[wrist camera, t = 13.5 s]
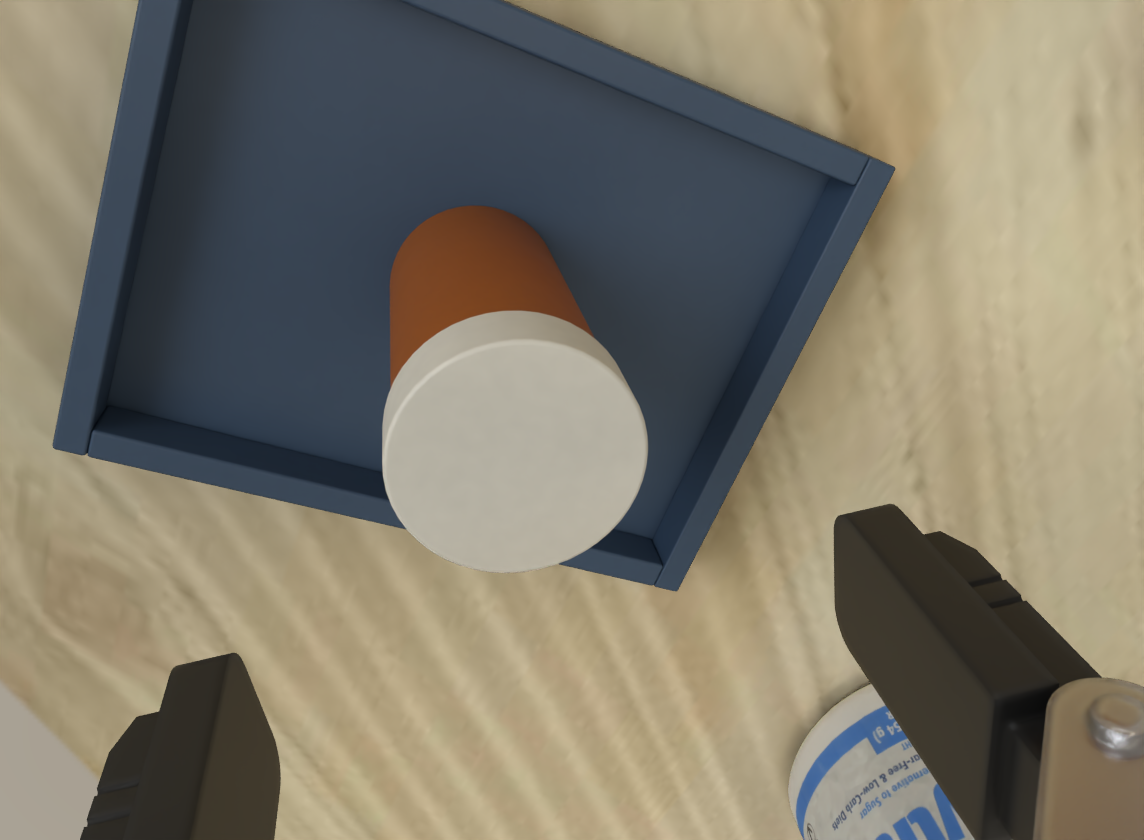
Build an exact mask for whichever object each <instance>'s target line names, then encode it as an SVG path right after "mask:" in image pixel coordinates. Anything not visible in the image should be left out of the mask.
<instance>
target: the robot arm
mask: <svg viewBox="0 0 1144 840" xmlns="http://www.w3.org/2000/svg"><path fill="white" fill-rule="evenodd" d="M834 586H835V611H836V616H837V621H838V625H839V628H840V631H841V634H842V637H843V639H844V641H845V643H846V645H847V647H848V649H849V651H850V652H851V654H852V655H853V657H854V658H855V660H856V661H857V663H858V664H859V666H860V667H861V669H862V670H863V672H864V673H865V675H866V676H867V678H868V679H869V681H870V682H871V684H872V685H873V687H874V689H875V690H876V692H877V693H878V695H879V696H880V698H881V699H882V701H883V702H884V704H885V705H886V707H887V708H888V710H889V711H890V713H891V714H892V716H893V717H894V719H895V720H896V722H897V723H898V725H899V726H900V728H901V729H902V731H903V732H904V734H905V735H906V737H907V738H908V740H909V741H910V743H911V744H912V746H913V747H914V749H915V750H916V752H917V753H918V755H919V756H920V758H921V759H922V761H923V762H924V764H925V765H926V767H927V768H928V770H929V771H930V773H931V774H932V776H933V777H934V779H935V780H936V782H937V783H938V785H939V786H940V788H941V789H942V791H943V792H944V794H945V795H946V797H947V799H948V800H949V802H950V803H951V805H952V806H953V808H954V809H955V811H956V812H957V814H958V815H959V817H960V818H961V820H962V821H963V823H964V824H965V826H966V827H967V829H968V830H969V832H970V833H971V835H972V836H973V838H974V839H975V840H1144V687H1142V686H1140V685H1137V684H1134V683H1131V682H1127V681H1123V680H1118V679H1111V678H1102V677H1101V676H1100V675H1099V674H1098V673H1097V672H1096V671H1095V670H1094V669H1093V668H1092V667H1091V666H1090V665H1089V664H1088V663H1087V662H1086V661H1085V660H1084V659H1083V658H1082V657H1081V656H1080V655H1079V654H1078V653H1077V652H1076V651H1075V650H1074V649H1073V648H1072V647H1071V646H1070V645H1069V644H1068V643H1067V642H1066V641H1065V640H1064V639H1063V638H1062V636H1061V635H1060V634H1059V633H1058V632H1057V631H1056V630H1055V629H1054V628H1053V627H1052V626H1051V625H1050V624H1049V623H1048V622H1047V621H1046V620H1045V619H1044V618H1043V617H1042V616H1041V615H1040V614H1039V613H1038V612H1037V611H1036V610H1035V609H1034V608H1033V607H1032V606H1031V605H1030V604H1029V603H1028V602H1027V601H1023V600H1022V598H1021V595H1020V594H1019V593H1018V592H1017V591H1016V590H1015V589H1014V588H1013V587H1012V586H1011V585H1010V584H1009V583H1008V582H1007V581H1006V580H1002V578H1001V574H1000V573H999V572H998V571H997V570H996V569H995V568H994V567H993V566H992V565H991V564H990V563H989V562H988V561H987V560H986V559H985V558H984V557H983V556H982V555H981V554H980V553H979V552H978V551H977V550H976V549H974V548H972V547H970V546H968V545H966V544H964V543H962V542H960V541H958V540H957V539H955V538H953V537H951V536H949V535H947V534H945V533H943V532H941V531H938V532H934V533H929V534H925V535H923V534H922V533H921V531H920V530H919V529H918V528H917V527H916V526H915V525H914V524H913V523H912V522H911V521H910V519H909V518H908V517H907V516H906V515H905V514H904V513H903V512H902V511H901V510H900V509H899V508H898V507H897V506H895V505H893V504H887V505H883V506H878V507H874V508H870V509H865V510H861V511H857V512H852V513H848V514H843V515H839V516H838V517H837V518H836V520H835V524H834ZM280 779H281V777H280V763H279V756H278V751H277V746H276V742H275V739H274V736H273V733H272V731H271V729H270V726H269V724H268V721H267V719H266V716H265V714H264V711H263V709H262V706H261V704H260V702H259V699H258V697H257V694H256V692H255V689H254V687H253V684H252V682H251V679H250V677H249V674H248V672H247V670H246V667H245V665H244V663H243V661H242V659H241V657H240V656H239V655H238V654H237V653H230V654H226V655H221V656H217V657H213V658H208V659H204V660H200V661H195V662H191V663H187V664H182V665H178V666H175V667H174V668H173V669H172V671H171V673H170V676H169V680H168V683H167V687H166V690H165V694H164V697H163V701H162V704H161V708H160V711H159V712H155V713H151V714H147V715H142V716H138V717H136V718H135V720H134V721H133V722H132V724H131V725H130V726H129V727H128V729H127V730H126V731H125V733H124V734H123V735H122V736H121V738H120V739H119V740H118V742H117V743H116V744H115V746H114V747H113V748H112V749H111V751H110V752H109V754H108V757H107V760H106V763H105V766H104V769H103V772H102V775H101V778H100V781H99V784H98V787H97V791H98V796H95V797H94V799H93V802H92V805H91V808H90V811H89V814H88V818H87V822H88V826H87V827H84V830H83V832H82V835H81V838H80V840H274V836H275V828H276V819H277V811H278V802H279V793H280Z"/></svg>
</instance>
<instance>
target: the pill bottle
mask: <svg viewBox="0 0 1144 840" xmlns="http://www.w3.org/2000/svg"><path fill="white" fill-rule="evenodd" d="M390 381H391V389H390V392H389V394H388V397H387V401H386V405H385V409H384V416H383V426H382V467H383V479H384V484H385V489H386V492H387V495H388V498H389V501H390V503H391V506H392V508H393V509H394V511H395V513H396V515H397V517H398V518H399V520H400V521H401V522H402V524H403V525H404V526H405V528H406V529H407V530H408V531H409V532H410V533H411V534H412V535H413V536H414V537H415V538H416V539H417V540H418V541H419V542H420V543H421V544H422V545H424V546H425V547H426V548H428V549H429V550H430V551H432V552H433V553H435V554H437V555H438V556H440V557H442V558H444V559H446V560H448V561H450V562H453V563H455V564H458V565H460V566H464V567H467V568H471V569H474V570H480V571H486V572H495V573H517V572H527V571H533V570H539V569H543V568H546V567H550V566H554V565H557V564H559V563H562V562H564V561H567V560H569V559H571V558H573V557H575V556H577V555H579V554H581V553H583V552H585V551H586V550H588V549H589V548H590V547H592V546H593V545H595V544H596V543H598V542H599V541H600V540H601V539H603V538H604V537H605V536H606V535H607V534H608V533H610V532H611V530H612V529H613V528H614V527H615V526H616V525H617V524H618V523H619V522H620V521H621V519H622V518H623V517H624V515H625V514H626V513H627V511H628V510H629V508H630V507H631V505H632V503H633V501H634V499H635V498H636V496H637V494H638V491H639V489H640V486H641V484H642V481H643V477H644V473H645V469H646V465H647V456H648V436H647V430H646V425H645V420H644V417H643V414H642V412H641V409H640V406H639V404H638V402H637V401H636V399H635V397H634V395H633V393H632V391H631V389H630V387H629V386H628V384H627V382H626V380H625V378H624V376H623V374H622V373H621V371H620V369H619V367H618V365H617V363H616V362H615V360H614V359H613V358H612V356H611V355H610V354H609V352H608V351H607V350H606V349H605V348H604V347H603V346H602V345H601V344H600V343H599V342H598V341H597V340H596V339H595V338H594V336H593V334H592V332H591V330H590V328H589V326H588V324H587V322H586V320H585V318H584V317H583V315H582V313H581V311H580V309H579V307H578V305H577V303H576V301H575V299H574V297H573V295H572V293H571V291H570V289H569V288H568V286H567V284H566V282H565V280H564V278H563V276H562V274H561V272H560V270H559V268H558V266H557V264H556V262H555V261H554V259H553V257H552V255H551V253H550V251H549V249H548V247H547V245H546V244H545V242H544V241H543V239H542V238H541V237H540V235H539V234H538V233H537V232H536V231H535V230H534V229H533V228H532V227H531V226H530V225H528V224H527V223H526V222H525V221H523V220H522V219H520V218H518V217H517V216H515V215H513V214H511V213H508V212H506V211H504V210H500V209H497V208H493V207H487V206H462V207H456V208H452V209H448V210H445V211H443V212H440V213H438V214H436V215H434V216H432V217H430V218H429V219H427V220H426V221H424V222H423V223H422V224H420V225H419V226H418V227H417V228H416V229H415V230H414V231H413V232H412V233H411V234H410V235H409V236H408V237H407V238H406V240H405V241H404V242H403V244H402V246H401V247H400V249H399V251H398V253H397V255H396V258H395V260H394V263H393V267H392V271H391V277H390Z"/></svg>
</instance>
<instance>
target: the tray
mask: <svg viewBox="0 0 1144 840" xmlns="http://www.w3.org/2000/svg"><path fill="white" fill-rule="evenodd" d="M894 171H895V167H893V166H891V165H889V164H887V163H885V162H882V161H880V160H878V159H876V158H874V157H871V156H869V155H867V154H865V153H863V152H860V151H858V150H856V149H853V148H851V147H849V146H846V145H844V144H842V143H839V142H837V141H834V140H832V139H830V138H827V137H825V136H823V135H820V134H818V133H816V132H813V131H811V130H808V129H806V128H804V127H801V126H799V125H797V124H794V123H792V122H790V121H787V120H785V119H783V118H780V117H778V116H775V115H773V114H771V113H768V112H766V111H764V110H761V109H759V108H757V107H754V106H752V105H749V104H747V103H745V102H742V101H740V100H738V99H735V98H733V97H731V96H728V95H726V94H724V93H721V92H719V91H716V90H714V89H712V88H709V87H707V86H705V85H702V84H700V83H698V82H695V81H693V80H690V79H688V78H686V77H683V76H681V75H679V74H676V73H674V72H672V71H669V70H667V69H665V68H662V67H660V66H657V65H655V64H653V63H650V62H648V61H646V60H643V59H641V58H639V57H636V56H634V55H631V54H629V53H627V52H624V51H622V50H620V49H617V48H615V47H613V46H610V45H608V44H606V43H603V42H601V41H598V40H596V39H594V38H591V37H589V36H587V35H584V34H582V33H580V32H577V31H575V30H572V29H570V28H568V27H565V26H563V25H561V24H558V23H556V22H554V21H551V20H549V19H547V18H544V17H542V16H539V15H537V14H535V13H532V12H530V11H528V10H525V9H523V8H521V7H518V6H516V5H514V4H511V3H509V2H506V1H504V0H139V2H138V7H137V12H136V17H135V22H134V28H133V33H132V38H131V43H130V48H129V53H128V58H127V64H126V69H125V74H124V79H123V84H122V89H121V95H120V100H119V105H118V110H117V115H116V120H115V125H114V131H113V136H112V141H111V146H110V151H109V156H108V162H107V167H106V172H105V177H104V182H103V187H102V193H101V198H100V203H99V208H98V213H97V218H96V223H95V229H94V234H93V239H92V244H91V249H90V254H89V260H88V265H87V270H86V275H85V280H84V285H83V291H82V296H81V301H80V306H79V311H78V316H77V321H76V327H75V332H74V337H73V342H72V347H71V352H70V358H69V363H68V368H67V373H66V378H65V383H64V388H63V394H62V399H61V404H60V409H59V414H58V419H57V425H56V430H55V435H54V440H53V448H54V449H57V450H61V451H66V452H70V453H74V454H79V455H86V454H87V453H88V456H89V457H92V458H96V459H101V460H105V461H110V462H114V463H118V464H123V465H127V466H131V467H136V468H140V469H145V470H149V471H153V472H158V473H162V474H166V475H171V476H175V477H180V478H184V479H188V480H193V481H197V482H201V483H206V484H210V485H215V486H219V487H223V488H228V489H232V490H236V491H241V492H245V493H250V494H254V495H258V496H263V497H267V498H271V499H276V500H280V501H284V502H289V503H293V504H298V505H302V506H306V507H311V508H315V509H319V510H324V511H328V512H333V513H337V514H341V515H346V516H350V517H354V518H359V519H363V520H368V521H372V522H376V523H381V524H385V525H389V526H394V527H398V528H403V529H406V528H405V526H404V525H403V524H402V522H401V521H400V520H399V518H398V517H397V515H396V513H395V511H394V509H393V508H392V506H391V503H390V501H389V498H388V495H387V492H386V489H385V484H384V479H383V467H382V426H383V416H384V409H385V405H386V401H387V397H388V394H389V392H390V389H391V381H390V277H391V271H392V267H393V263H394V260H395V258H396V255H397V253H398V251H399V249H400V247H401V246H402V244H403V242H404V241H405V240H406V238H407V237H408V236H409V235H410V234H411V233H412V232H413V231H414V230H415V229H416V228H417V227H418V226H419V225H420V224H422V223H423V222H424V221H426V220H427V219H429V218H430V217H432V216H434V215H436V214H438V213H440V212H443V211H445V210H448V209H452V208H456V207H462V206H487V207H493V208H497V209H500V210H504V211H506V212H508V213H511V214H513V215H515V216H517V217H518V218H520V219H522V220H523V221H525V222H526V223H527V224H528V225H530V226H531V227H532V228H533V229H534V230H535V231H536V232H537V233H538V234H539V235H540V237H541V238H542V239H543V241H544V242H545V244H546V245H547V247H548V249H549V251H550V253H551V255H552V257H553V259H554V261H555V262H556V264H557V266H558V268H559V270H560V272H561V274H562V276H563V278H564V280H565V282H566V284H567V286H568V288H569V289H570V291H571V293H572V295H573V297H574V299H575V301H576V303H577V305H578V307H579V309H580V311H581V313H582V315H583V317H584V318H585V320H586V322H587V324H588V326H589V328H590V330H591V332H592V334H593V336H594V338H595V339H596V340H597V341H598V342H599V343H600V344H601V345H602V346H603V347H604V348H605V349H606V350H607V351H608V352H609V354H610V355H611V356H612V358H613V359H614V360H615V362H616V363H617V365H618V367H619V369H620V371H621V373H622V374H623V376H624V378H625V380H626V382H627V384H628V386H629V387H630V389H631V391H632V393H633V395H634V397H635V399H636V401H637V402H638V404H639V406H640V409H641V412H642V414H643V417H644V420H645V425H646V430H647V436H648V456H647V465H646V469H645V473H644V477H643V481H642V484H641V486H640V489H639V491H638V494H637V496H636V498H635V499H634V501H633V503H632V505H631V507H630V508H629V510H628V511H627V513H626V514H625V515H624V517H623V518H622V519H621V521H620V522H619V523H618V524H617V525H616V526H615V527H614V528H613V529H612V530H611V532H610V533H608V534H607V535H606V536H605V537H604V538H603V539H601V540H600V541H599V542H598V543H596V544H595V545H593V546H592V547H590V548H589V549H588V550H586V551H585V552H583V553H581V554H579V555H577V556H575V557H573V558H571V559H569V560H567V561H564V562H562V563H559V564H560V565H564V566H569V567H573V568H577V569H582V570H586V571H591V572H595V573H599V574H604V575H608V576H612V577H617V578H621V579H626V580H630V581H634V582H639V583H643V584H647V585H654V586H655V587H659V588H663V589H667V590H672V591H678V589H679V587H680V585H681V583H682V581H683V579H684V577H685V575H686V573H687V571H688V569H689V568H690V566H691V564H692V562H693V560H694V558H695V556H696V554H697V552H698V550H699V548H700V546H701V544H702V542H703V540H704V539H705V537H706V535H707V533H708V531H709V529H710V527H711V525H712V523H713V521H714V519H715V517H716V515H717V513H718V511H719V509H720V508H721V506H722V504H723V502H724V500H725V498H726V496H727V494H728V492H729V490H730V488H731V486H732V484H733V482H734V480H735V479H736V477H737V475H738V473H739V471H740V469H741V467H742V465H743V463H744V461H745V459H746V457H747V455H748V453H749V451H750V450H751V448H752V446H753V444H754V442H755V440H756V438H757V436H758V434H759V432H760V430H761V428H762V426H763V424H764V422H765V420H766V419H767V417H768V415H769V413H770V411H771V409H772V407H773V405H774V403H775V401H776V399H777V397H778V395H779V393H780V391H781V390H782V388H783V386H784V384H785V382H786V380H787V378H788V376H789V374H790V372H791V370H792V368H793V366H794V364H795V362H796V361H797V359H798V357H799V355H800V353H801V351H802V349H803V347H804V345H805V343H806V341H807V339H808V337H809V335H810V333H811V331H812V330H813V328H814V326H815V324H816V322H817V320H818V318H819V316H820V314H821V312H822V310H823V308H824V306H825V304H826V302H827V301H828V299H829V297H830V295H831V293H832V291H833V289H834V287H835V285H836V283H837V281H838V279H839V277H840V275H841V273H842V272H843V270H844V268H845V266H846V264H847V262H848V260H849V258H850V256H851V254H852V252H853V250H854V248H855V246H856V244H857V242H858V241H859V239H860V237H861V235H862V233H863V231H864V229H865V227H866V225H867V223H868V221H869V219H870V217H871V215H872V213H873V212H874V210H875V208H876V206H877V204H878V202H879V200H880V198H881V196H882V194H883V192H884V190H885V188H886V186H887V184H888V182H889V181H890V179H891V177H892V175H893V173H894Z"/></svg>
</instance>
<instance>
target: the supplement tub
mask: <svg viewBox="0 0 1144 840" xmlns="http://www.w3.org/2000/svg"><path fill="white" fill-rule="evenodd" d="M788 796H789V803H790V807H791V811H792V814H793V816H794V819H795V821H796V823H797V825H798V828H799V830H800V832H801V835H802V837H803V840H975V839H974V838H973V836H972V835H971V833H970V832H969V830H968V829H967V827H966V826H965V824H964V823H963V821H962V820H961V818H960V817H959V815H958V814H957V812H956V811H955V809H954V808H953V806H952V805H951V803H950V802H949V800H948V799H947V797H946V795H945V794H944V792H943V791H942V789H941V788H940V786H939V785H938V783H937V782H936V780H935V779H934V777H933V776H932V774H931V773H930V771H929V770H928V768H927V767H926V765H925V764H924V762H923V761H922V759H921V758H920V756H919V755H918V753H917V752H916V750H915V749H914V747H913V746H912V744H911V743H910V741H909V740H908V738H907V737H906V735H905V734H904V732H903V731H902V729H901V728H900V726H899V725H898V723H897V722H896V720H895V719H894V717H893V716H892V714H891V713H890V711H889V710H888V708H887V707H886V705H885V704H884V702H883V701H882V699H881V698H880V696H879V695H878V693H877V692H876V690H875V689H874V687H873V685H872V684H869V685H867V686H865V687H863V688H861V689H859V690H857V691H856V692H854V693H852V694H851V695H849V696H848V697H846V698H845V699H843V700H842V701H840V702H839V703H838V704H836V705H835V706H834V707H833V708H832V709H830V710H829V711H828V712H827V713H826V714H825V715H824V716H823V717H822V718H821V719H820V720H819V721H818V722H817V724H816V725H815V726H814V727H813V728H812V729H811V731H810V732H809V734H808V735H807V736H806V738H805V740H804V741H803V743H802V745H801V747H800V749H799V751H798V753H797V755H796V757H795V760H794V763H793V765H792V769H791V773H790V778H789V784H788Z"/></svg>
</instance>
